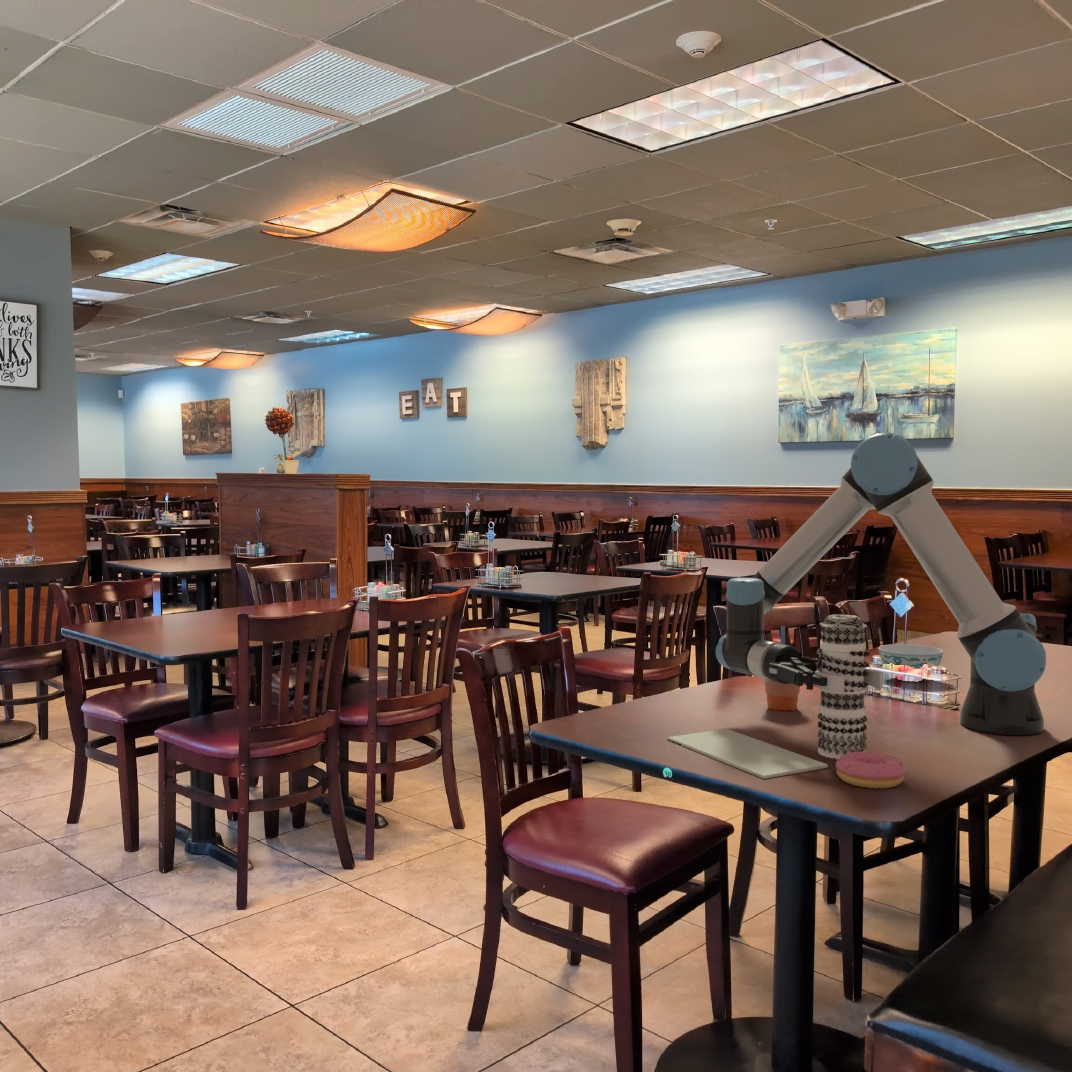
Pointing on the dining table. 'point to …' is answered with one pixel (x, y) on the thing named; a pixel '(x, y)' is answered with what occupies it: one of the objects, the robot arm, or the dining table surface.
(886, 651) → the chinaware
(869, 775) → the doughnut
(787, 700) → the cup with straw
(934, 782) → the dining table surface
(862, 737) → the decorative candle
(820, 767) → the sage rubber mat
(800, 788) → the dining table surface
